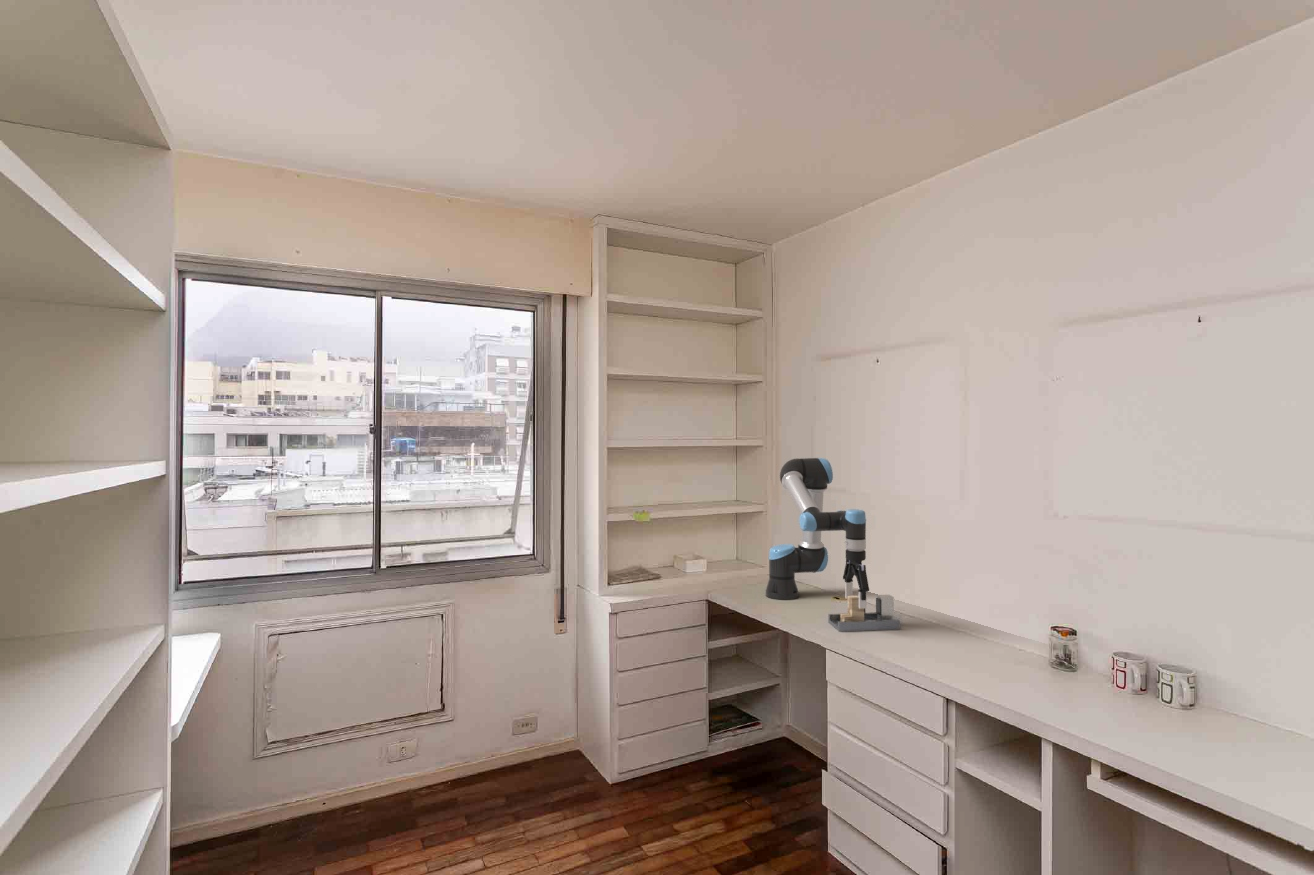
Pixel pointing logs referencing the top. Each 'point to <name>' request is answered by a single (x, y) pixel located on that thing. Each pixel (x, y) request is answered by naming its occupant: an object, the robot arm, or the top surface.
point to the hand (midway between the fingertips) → (855, 603)
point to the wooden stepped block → (853, 610)
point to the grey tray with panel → (871, 618)
